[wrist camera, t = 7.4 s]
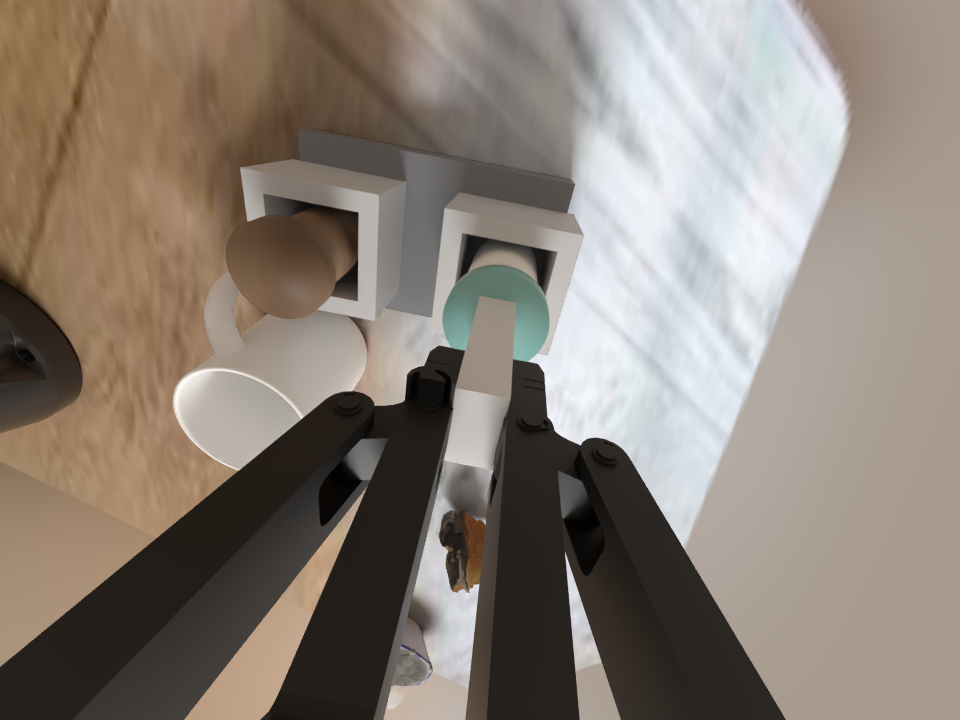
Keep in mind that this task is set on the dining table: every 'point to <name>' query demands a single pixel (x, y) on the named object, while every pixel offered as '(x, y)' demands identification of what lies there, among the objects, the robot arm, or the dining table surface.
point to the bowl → (412, 658)
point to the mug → (263, 376)
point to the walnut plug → (293, 259)
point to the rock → (462, 548)
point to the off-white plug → (500, 296)
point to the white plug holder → (420, 219)
